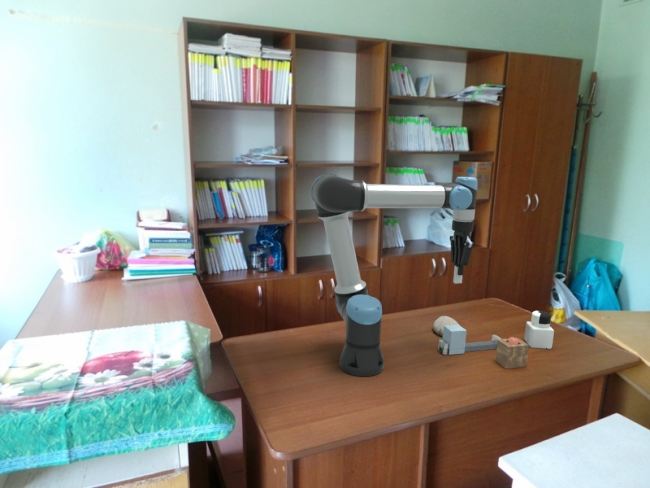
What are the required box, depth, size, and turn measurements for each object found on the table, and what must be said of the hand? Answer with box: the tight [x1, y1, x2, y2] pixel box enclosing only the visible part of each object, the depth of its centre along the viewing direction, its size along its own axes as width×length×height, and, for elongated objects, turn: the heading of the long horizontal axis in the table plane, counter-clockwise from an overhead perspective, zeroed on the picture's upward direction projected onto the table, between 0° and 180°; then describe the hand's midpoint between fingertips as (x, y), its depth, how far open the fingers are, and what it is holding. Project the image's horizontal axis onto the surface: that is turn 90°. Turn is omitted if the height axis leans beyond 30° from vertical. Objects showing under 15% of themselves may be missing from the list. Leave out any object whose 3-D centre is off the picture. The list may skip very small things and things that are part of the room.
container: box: [524, 310, 555, 350], centre depth 171 cm, size 8×8×13 cm
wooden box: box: [495, 337, 530, 370], centre depth 155 cm, size 8×6×8 cm
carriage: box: [442, 324, 467, 356], centre depth 164 cm, size 6×6×9 cm
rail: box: [437, 334, 502, 355], centre depth 166 cm, size 24×4×4 cm, turn 104°
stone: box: [432, 315, 460, 338], centre depth 182 cm, size 13×10×8 cm
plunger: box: [508, 336, 518, 345], centre depth 155 cm, size 3×3×8 cm
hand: (457, 282), depth 166 cm, fingers closed
